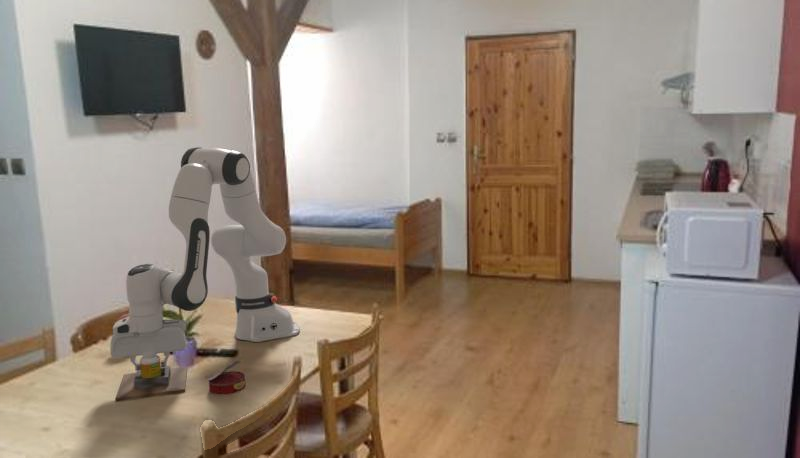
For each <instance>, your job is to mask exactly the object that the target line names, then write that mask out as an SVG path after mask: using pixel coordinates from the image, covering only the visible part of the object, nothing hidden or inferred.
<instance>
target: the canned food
mask: <svg viewBox="0 0 800 458" xmlns="http://www.w3.org/2000/svg"><path fill="white" fill-rule="evenodd" d="M240 363H241V360H237V361H234V362H232V364H230V365H227V366H226V367H225V368H224V369H223V370H222V371H220V372H218V373H215V374H213V375H212V376H210V377H209V378H208V385H209V393H211V394H213V395H219V396H220V395H224V396H225V395H230V394H231V395H232V394H236V393H239V392H241V391H242V390H243V389H245V388H246V376H245V375H246V374H245V373H243V372H241V371H236V370H235V371H234V370H233V371H232V370H231V371H228V370H230V369H231V368H233V367H235V366H236V365H238V364H240Z"/></svg>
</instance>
